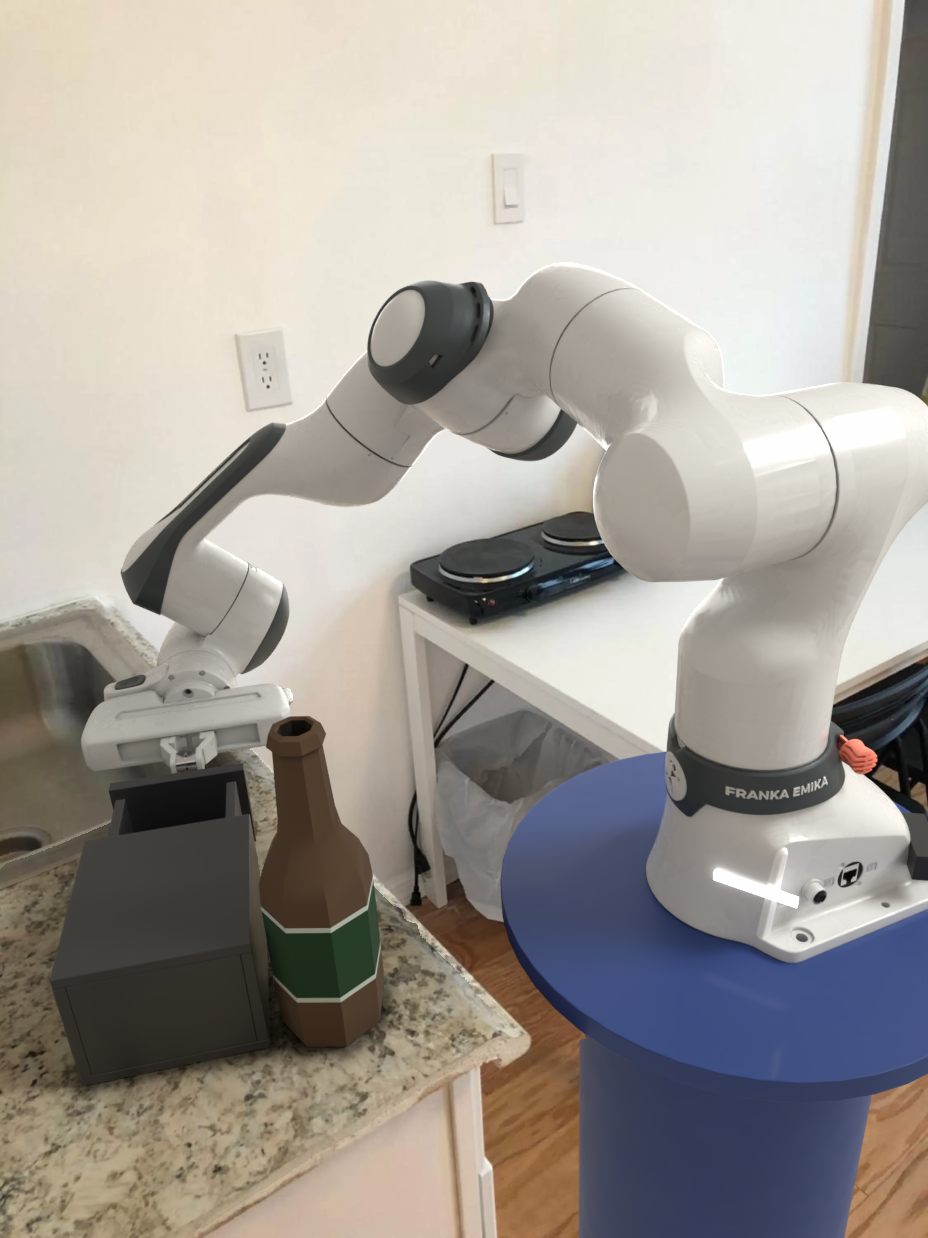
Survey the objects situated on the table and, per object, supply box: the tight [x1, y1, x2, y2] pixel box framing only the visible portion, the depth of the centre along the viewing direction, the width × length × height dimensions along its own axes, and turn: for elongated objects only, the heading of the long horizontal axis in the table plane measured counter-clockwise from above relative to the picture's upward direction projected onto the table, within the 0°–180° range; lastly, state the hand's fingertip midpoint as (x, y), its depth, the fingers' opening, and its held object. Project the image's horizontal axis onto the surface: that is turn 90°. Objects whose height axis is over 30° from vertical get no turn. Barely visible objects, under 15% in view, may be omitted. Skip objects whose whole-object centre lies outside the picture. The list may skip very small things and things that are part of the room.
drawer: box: [107, 762, 257, 842], centre depth 79 cm, size 18×11×8 cm, turn 12°
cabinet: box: [49, 814, 271, 1087], centre depth 69 cm, size 15×13×10 cm
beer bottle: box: [259, 715, 385, 1048], centre depth 63 cm, size 8×8×24 cm
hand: (186, 769), depth 87 cm, fingers closed
